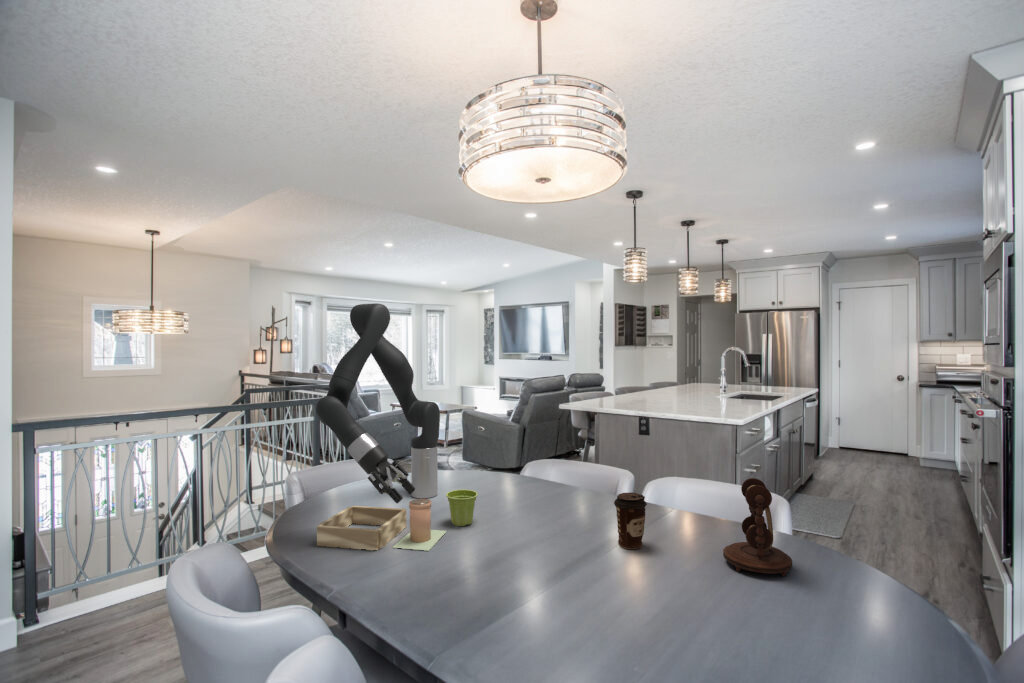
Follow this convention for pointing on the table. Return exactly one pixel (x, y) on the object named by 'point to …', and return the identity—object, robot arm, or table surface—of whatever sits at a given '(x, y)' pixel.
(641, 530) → the coffee cup
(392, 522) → the frame
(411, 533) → the seedling pot
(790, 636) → the table surface
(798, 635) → the table surface
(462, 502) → the plant pot
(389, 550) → the table surface
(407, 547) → the green mat
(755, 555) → the brown wooden stand
